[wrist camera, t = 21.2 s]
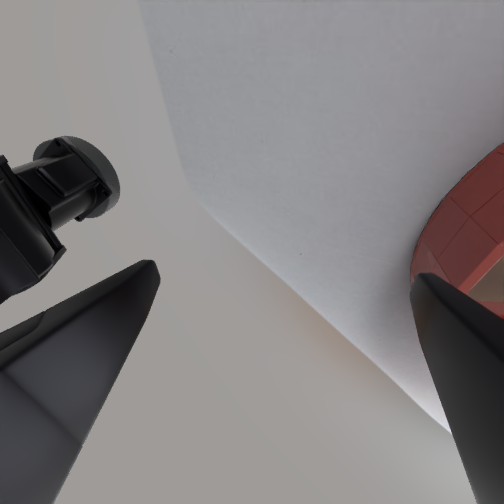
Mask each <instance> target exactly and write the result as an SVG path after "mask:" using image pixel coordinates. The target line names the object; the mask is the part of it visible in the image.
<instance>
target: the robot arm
mask: <svg viewBox="0 0 504 504" xmlns="http://www.w3.org/2000/svg"><path fill="white" fill-rule="evenodd" d="M59 142H60V143H59ZM60 144H61V145H60ZM7 162H8V161H7V159H6V158H5V157H4V155H0V304H2V303H3V302H4V301H5V300H7V299H8V298H9V297H11V296H13V295H15V294H18V293H21V292H23V291H25V290H27V289H29V288H31V287H32V286H34V285H35V284H37V283H38V282H40V281H41V280H42V279H43V278H44V277H45V276H46V275H47V274H48V272H49V271H50V270H51V269H52V267H53V266H54V265H55V264H56V263H57V261H58V260H59V259H60V258H61V257H62V255H63V254H64V253H65V251H66V250H67V249H66V248H65V247H64V245H62V244H61V243H60V241H59V240H58V238H57V237H56V235H55V234H54V232H53V231H55V230H56V229H58V228H59V227H61V226H63V225H64V224H66V223H67V222H69V221H70V220H72V219H75V220H76V221H78V222H80V221H82V220H84V219H85V218H86V217H87V216H89V215H90V214H91V213H92V212H93V211H94V210H96V209H97V208H98V207H99V206H100V205H102V204H103V203H104V202H105V201H106V200H107V199H109V198H110V197H111V196H112V195H113V193H112V190H111V189H110V188H109V187H108V186H107V185H106V184H105V183H104V182H103V181H102V180H101V178H100V177H99V176H98V175H97V174H96V173H95V172H94V171H93V170H92V169H91V168H90V167H89V166H88V165H87V164H86V163H85V161H84V160H83V159H82V158H81V157H80V156H79V155H78V154H77V153H76V152H75V151H74V150H73V149H72V148H71V147H70V145H69V144H68V143H67V142H66V141H65V140H64V139H63V138H61V137H57V138H54V139H53V140H52V142H51V143H50V144H49V145H48V147H47V148H46V149H45V150H44V152H43V153H42V154H41V155H40V157H39V158H38V159H37V160H35V161H33V162H30V163H27V164H24V165H21V166H18V167H15V168H12V169H11V168H10V167H9V165H8V163H7ZM106 192H107V193H108V194H107V193H106ZM159 285H160V275H159V272H158V269H157V266H156V264H155V262H154V261H153V260H141V261H139V262H137V263H135V264H133V265H131V266H129V267H127V268H126V269H124V270H122V271H120V272H118V273H116V274H114V275H112V276H110V277H108V278H106V279H105V280H103V281H101V282H99V283H97V284H95V285H93V286H91V287H89V288H87V289H85V290H84V291H81V292H80V293H78V294H76V295H74V296H72V297H70V298H68V299H66V300H64V301H62V302H60V303H58V304H57V305H55V306H53V307H51V308H49V309H47V310H46V311H43V312H41V313H39V314H37V315H36V316H34V317H31V318H30V319H28V320H26V321H24V322H22V323H20V324H18V325H16V326H14V327H12V328H10V329H7V330H6V331H3V332H1V333H0V504H54V502H55V500H56V498H57V496H58V494H59V492H60V490H61V488H62V486H63V484H64V482H65V480H66V478H67V476H68V474H69V472H70V470H71V468H72V466H73V464H74V462H75V460H76V459H77V457H78V454H79V453H80V451H81V448H82V445H83V444H84V442H85V440H86V438H87V436H88V434H89V432H90V430H91V428H92V426H93V424H94V422H95V420H96V418H97V416H98V414H99V412H100V410H101V408H102V406H103V404H104V402H105V400H106V398H107V396H108V394H109V392H110V390H111V388H112V386H113V384H114V382H115V381H116V379H117V377H118V374H119V373H120V370H121V368H122V367H123V365H124V363H125V361H126V359H127V356H128V354H129V353H130V351H131V349H132V347H133V345H134V343H135V341H136V338H137V336H138V335H139V333H140V331H141V329H142V327H143V325H144V323H145V321H146V318H147V316H148V314H149V311H150V309H151V306H152V303H153V300H154V298H155V295H156V292H157V290H158V287H159ZM410 301H411V306H412V310H413V315H414V319H415V324H416V328H417V333H418V337H419V341H420V344H421V347H422V350H423V353H424V356H425V359H426V362H427V364H428V367H429V370H430V373H431V376H432V378H433V381H434V384H435V387H436V390H437V392H438V395H439V398H440V401H441V404H442V406H443V409H444V412H445V415H446V418H447V421H448V423H449V426H450V429H451V432H452V435H453V437H454V440H455V443H456V446H457V449H458V451H459V454H460V457H461V460H462V462H463V465H464V468H465V471H466V474H467V477H468V479H469V482H470V485H471V488H472V491H473V493H474V496H475V499H476V502H477V504H504V319H502V318H501V317H499V316H498V315H496V314H495V313H493V312H492V311H490V310H489V309H487V308H486V307H484V306H483V305H481V304H480V303H478V302H477V301H475V300H474V299H472V298H471V297H469V296H467V295H466V294H464V293H463V292H461V291H460V290H458V289H457V288H455V287H454V286H452V285H451V284H449V283H448V282H446V281H445V280H443V279H442V278H440V277H439V276H437V275H436V274H434V273H424V272H420V273H418V274H417V275H416V277H415V280H414V283H413V285H412V288H411V291H410Z"/></svg>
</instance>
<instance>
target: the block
mask: <svg viewBox="0 0 504 504" xmlns="http://www.w3.org/2000/svg"><path fill="white" fill-rule="evenodd" d="M467 296H469V297H471V298H472V299H474V300H479V301H494V302H504V256H503V257H502V258H501V259H500V260H499V261H498V262H497V263H496V264H495V265H494V266H493V267H492V268H491V269H490V270H489V271H488V272H487V273H486V274H485V275H484V276H483V278H482V279H481V280H480V281H479V282H478V283H477V284H476V285H475V286H474V287H473V288H472V289H471V290H470V291H469V292H468V294H467Z"/></svg>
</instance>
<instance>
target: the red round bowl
mask: <svg viewBox="0 0 504 504" xmlns="http://www.w3.org/2000/svg"><path fill="white" fill-rule="evenodd" d="M503 256H504V143H502V144H501V145H500V146H498V147H497V148H496V149H494V150H493V151H492V152H491V153H490V154H489V155H487V156H486V157H485V158H484V159H483V160H482V161H481V162H479V163H478V164H477V165H476V166H475V167H474V168H473V169H471V170H470V171H469V172H468V173H467V174H466V175H465V176H464V177H463V178H462V179H461V181H460V182H459V183H458V184H457V185H456V186H455V187H454V188H453V189H452V190H451V191H450V192H449V193H448V194H447V196H446V197H445V198H444V200H443V201H442V202H441V204H440V205H439V206H438V208H437V209H436V210H435V212H434V213H433V214H432V216H431V218H430V219H429V221H428V223H427V225H426V226H425V228H424V230H423V231H422V233H421V236H420V238H419V241H418V243H417V246H416V248H415V250H414V255H413V259H412V263H411V269H410V286H411V288H412V285H413V283H414V280H415V277H416V275H417V274H418V273H420V272H424V273H434V274H436V275H437V276H439V277H440V278H442V279H443V280H445V281H446V282H448V283H449V284H451V285H452V286H454V287H455V288H457V289H458V290H460V291H461V292H463V293H464V294H466V295H467V294H468V292H469V291H470V290H471V289H472V288H473V287H474V286H475V285H476V284H477V283H478V282H479V281H480V280H481V279H482V278H483V276H484V275H485V274H486V273H487V272H488V271H489V270H490V269H491V268H492V267H493V266H494V265H495V264H496V263H497V262H498V261H499V260H500V259H501V258H502V257H503ZM475 301H477V302H478V303H480V304H481V305H483V306H484V307H486V308H487V309H489V310H490V311H492V312H493V313H495V314H496V315H498V316H499V317H501V318H502V319H504V302H494V301H479V300H475Z"/></svg>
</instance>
